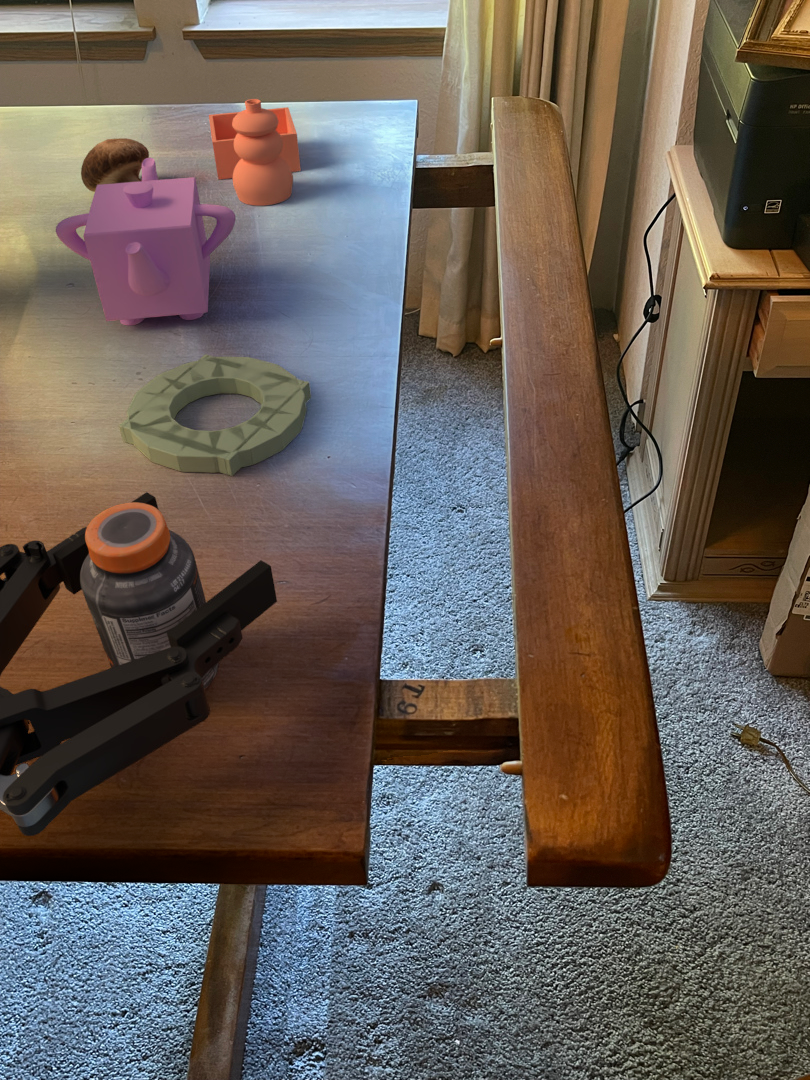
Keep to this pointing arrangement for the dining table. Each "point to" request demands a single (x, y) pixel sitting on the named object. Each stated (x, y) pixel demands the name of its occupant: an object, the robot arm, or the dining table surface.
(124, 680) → the robot arm
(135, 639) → the pill bottle
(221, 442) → the hole board
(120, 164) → the mushroom
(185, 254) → the teapot
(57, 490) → the dining table surface
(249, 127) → the pottery
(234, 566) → the dining table surface
